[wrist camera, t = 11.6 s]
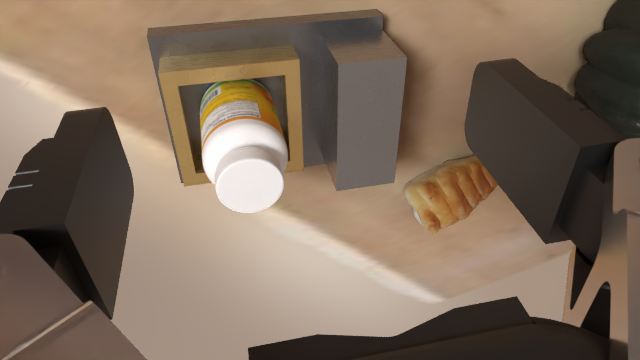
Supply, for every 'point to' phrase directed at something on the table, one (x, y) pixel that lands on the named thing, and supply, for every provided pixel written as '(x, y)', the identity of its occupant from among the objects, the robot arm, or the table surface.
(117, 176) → the robot arm
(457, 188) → the pastry
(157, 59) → the grey and tan tray
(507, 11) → the table surface
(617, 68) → the squash
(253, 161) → the supplement bottle
